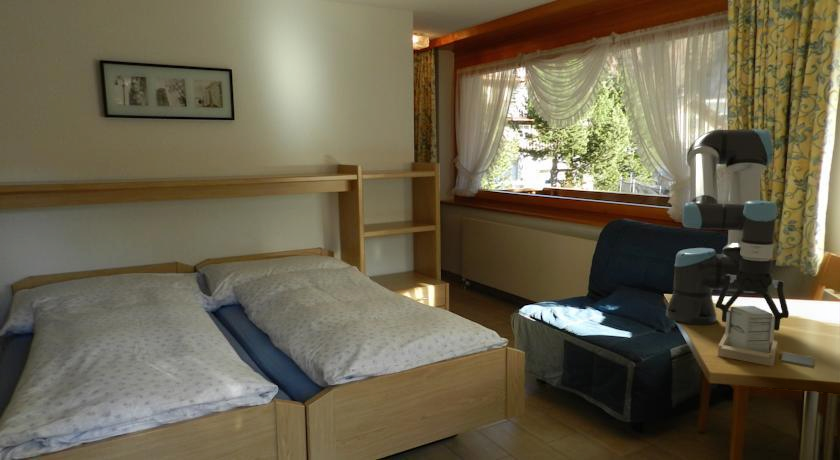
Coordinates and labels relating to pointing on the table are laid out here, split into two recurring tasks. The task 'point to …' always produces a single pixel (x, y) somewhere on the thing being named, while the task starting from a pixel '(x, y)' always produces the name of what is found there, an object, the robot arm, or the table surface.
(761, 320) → the supplement box
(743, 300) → the table surface
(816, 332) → the table surface
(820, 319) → the table surface
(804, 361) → the coaster
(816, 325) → the table surface
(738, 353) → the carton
